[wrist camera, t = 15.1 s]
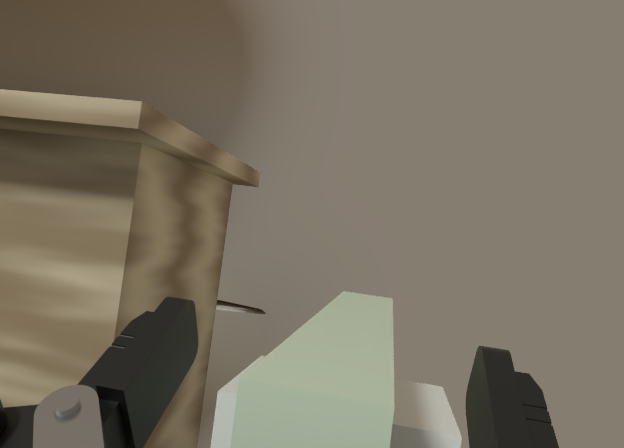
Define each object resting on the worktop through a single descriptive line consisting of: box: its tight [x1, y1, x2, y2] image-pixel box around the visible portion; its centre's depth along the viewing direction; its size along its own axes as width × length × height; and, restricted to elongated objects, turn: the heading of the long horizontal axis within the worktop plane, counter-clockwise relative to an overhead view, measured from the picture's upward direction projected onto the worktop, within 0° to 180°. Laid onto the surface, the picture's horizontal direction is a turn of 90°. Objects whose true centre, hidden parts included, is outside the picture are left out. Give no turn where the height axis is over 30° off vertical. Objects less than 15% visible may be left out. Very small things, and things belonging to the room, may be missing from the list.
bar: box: [230, 291, 395, 448], centre depth 22 cm, size 24×4×4 cm, turn 170°
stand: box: [0, 89, 260, 448], centre depth 26 cm, size 17×12×32 cm
